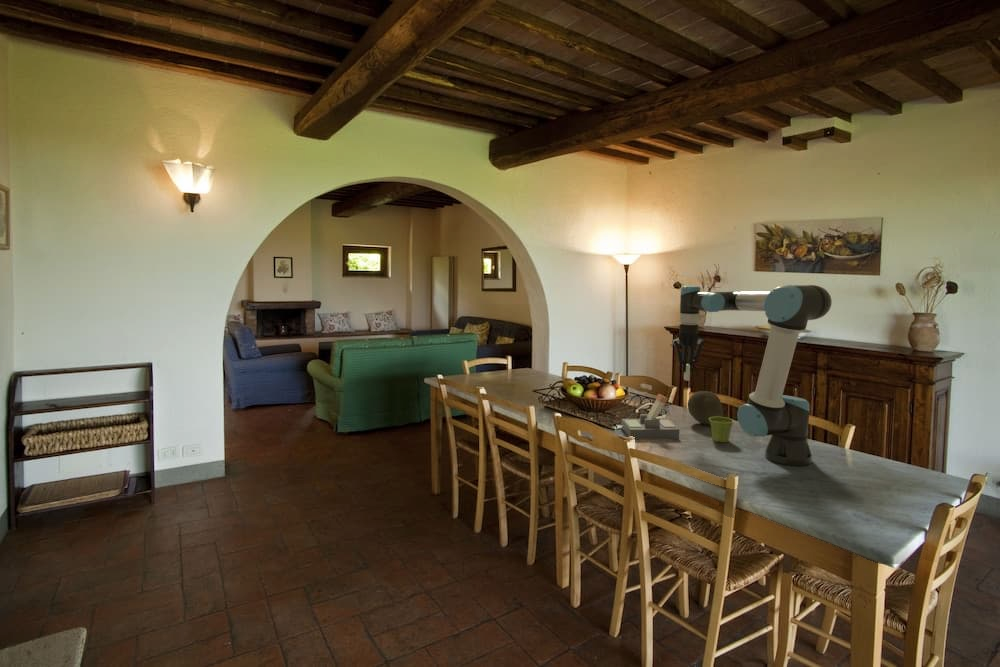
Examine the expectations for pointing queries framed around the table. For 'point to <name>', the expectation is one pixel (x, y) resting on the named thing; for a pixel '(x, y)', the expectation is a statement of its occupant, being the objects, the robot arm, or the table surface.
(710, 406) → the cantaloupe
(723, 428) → the plant pot
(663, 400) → the toggle lever
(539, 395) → the table surface
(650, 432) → the switch box
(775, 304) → the robot arm
